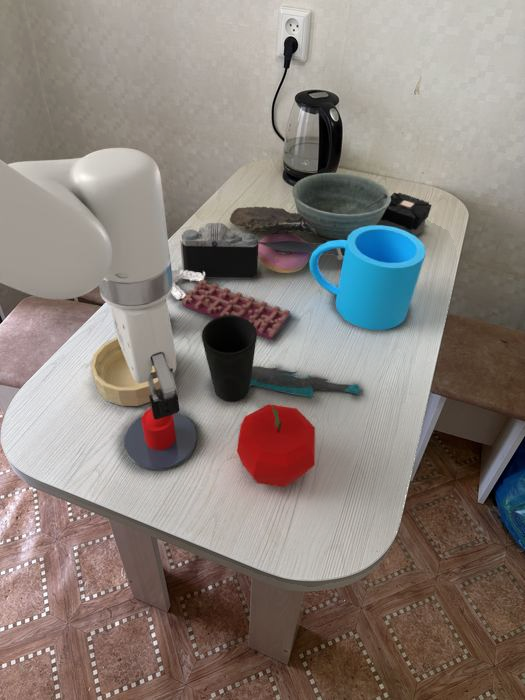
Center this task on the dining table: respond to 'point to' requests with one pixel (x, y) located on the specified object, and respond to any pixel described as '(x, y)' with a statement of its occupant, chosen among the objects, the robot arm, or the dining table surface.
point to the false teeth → (186, 275)
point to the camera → (219, 252)
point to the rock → (270, 220)
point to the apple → (276, 445)
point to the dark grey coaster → (160, 458)
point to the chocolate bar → (236, 308)
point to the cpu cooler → (406, 213)
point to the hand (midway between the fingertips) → (154, 386)
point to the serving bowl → (118, 377)
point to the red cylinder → (158, 431)
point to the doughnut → (282, 254)
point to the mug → (374, 275)
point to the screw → (378, 200)
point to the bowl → (339, 203)
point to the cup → (230, 355)
